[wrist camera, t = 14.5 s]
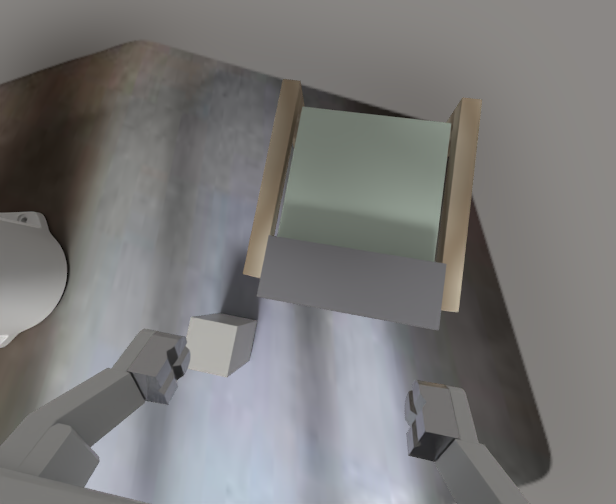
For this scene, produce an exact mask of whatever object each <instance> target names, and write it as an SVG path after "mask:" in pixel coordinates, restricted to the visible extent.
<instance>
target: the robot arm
mask: <svg viewBox="0 0 616 504" xmlns="http://www.w3.org/2000/svg"><path fill="white" fill-rule="evenodd" d="M66 279H67V263H66V258H65V255H64V252H63V250H62V248H61V246H60V244H59V243H58V242H57V240H56V239H55V238H54V237H53V236H52V235H51V233H50V232H49V229H48V225H47V222H46V219H45V217H44V215H43V214H42V213H39V212H33V211H30V212H7V213H0V348H2V347H5V346H6V345H7V344H9V343H10V342H11V341H12V340H13V339H14V338H15V337H16V336H17V335H18V334H19V333H20V332H22V331H24V330H26V329H29V328H31V327H33V326H35V325H37V324H38V323H40V322H41V321H42V320H44V319H45V318H46V317H47V316H48V315H49V314H50V313H51V312H52V311H53V309H54V308H55V307H56V305H57V304H58V302H59V300H60V298H61V296H62V294H63V291H64V288H65V284H66ZM186 344H187V340H186V337H185V336H179V335H174V334H169V333H163V332H159V331H154V330H149V329H143V330H142V331H140V332H139V333H138V334H137V336H136V337H135V338H134V340H133V341H132V342H131V343H130V345H129V346H128V347H127V349H126V350H125V351H124V353H123V354H122V355H121V357H120V358H119V359H118V361H117V362H116V363H115V365H114V366H113V367H112V369H110V368H107V369H105V370H103V371H102V372H100V373H98V374H96V375H95V376H93V377H91V378H90V379H88V380H86V381H85V382H83V383H81V384H79V385H78V386H76V387H74V388H73V389H71V390H69V391H68V392H66V393H64V394H62V395H61V396H59V397H57V398H56V399H54V400H52V401H51V402H49V403H47V404H45V405H44V406H42V407H40V408H39V409H37V410H35V411H34V412H32V413H30V414H28V415H27V417H26V418H25V419H24V420H23V421H22V422H21V423H20V424H19V426H18V427H17V428H16V429H15V430H14V431H13V432H12V434H11V435H10V436H9V437H8V438H7V439H6V440H5V441H4V443H3V444H2V445H1V446H0V504H150V503H145V502H141V501H137V500H133V499H129V498H125V497H121V496H117V495H113V494H108V493H104V492H100V491H96V490H92V489H88V488H84V486H85V485H86V483H87V482H88V480H89V478H90V477H91V475H92V473H93V472H94V470H95V468H96V467H97V465H98V463H99V462H100V461H99V456H98V455H97V454H96V453H95V452H94V451H93V450H92V449H91V448H90V447H91V446H92V445H94V444H95V443H96V442H97V441H99V440H100V439H101V438H102V437H103V436H105V435H106V434H107V433H108V432H110V431H111V430H112V429H113V428H114V427H116V426H117V425H118V424H119V423H121V422H122V421H123V420H124V419H125V418H127V417H128V416H129V415H130V414H132V413H133V412H134V411H135V410H136V409H138V408H139V407H140V406H141V405H143V404H144V403H145V401H150V402H155V403H161V404H166V405H168V404H169V403H170V401H171V399H172V397H173V395H174V393H175V391H176V390H177V388H178V384H177V380H178V379H179V378H181V377H182V376H184V375H185V373H186V371H187V369H188V366H189V363H190V357H191V353H190V350H189V349H188V348H187V347H186ZM405 420H406V422H407V423H408V425H409V426H410V428H409V430H408V432H407V433H406V436H407V446H408V456H412V457H416V458H421V459H425V460H429V461H433V462H435V465H436V467H437V469H438V471H439V472H440V474H441V476H442V478H443V479H444V481H445V483H446V485H447V487H448V488H449V490H450V492H451V494H452V496H453V497H454V499H455V501H456V503H457V504H530V503H529V502H528V500H527V499H526V498H525V497H524V495H523V494H522V493H521V492H520V490H519V489H518V488H517V486H516V485H515V484H514V483H513V481H512V480H511V479H510V478H509V476H508V475H507V474H506V472H505V471H504V470H503V469H502V467H501V466H500V465H499V463H498V462H497V461H496V460H495V458H494V457H493V456H492V455H491V453H490V452H489V451H488V449H487V448H486V447H485V446H484V445H483V444H479V442H478V439H477V435H476V431H475V427H474V423H473V419H472V416H471V412H470V408H469V404H468V400H467V397H466V393H465V391H464V390H463V389H462V388H458V387H452V386H447V385H443V384H437V383H431V382H425V381H419V380H415V381H414V382H413V384H412V391H409V392H408V394H407V396H406V400H405Z"/></svg>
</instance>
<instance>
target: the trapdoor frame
mask: <svg viewBox="0 0 616 504" xmlns="http://www.w3.org/2000/svg"><path fill="white" fill-rule="evenodd" d="M481 105H482V100H480V99H471V98H462V99H461V101H460V102H459V104H458V105H457V107H456V108H455V110H454V112H453V113H452V115H451V116H450V118H449V120H448V121H447V122H446V123H451V130H450V138H449V146H448V154H447V157H448V156H449V162H448V170H447V178H446V186H445V194H444V203H443V211H442V219H441V227H440V235H439V243H438V251H437V259H436V262H438V263H444V264H447V265H446V274H445V282H444V290H443V299H442V307H441V310H443V311H452V312H458V311H459V302H460V293H461V284H462V275H463V266H464V257H465V248H466V239H467V230H468V221H469V212H470V203H471V194H472V185H473V176H474V167H475V158H476V150H477V140H478V131H479V122H480V114H481ZM302 107H304V101H303V94H302V88H301V82H300V81H297V80H287V79H283V82H282V87H281V92H280V96H279V101H278V106H277V111H276V116H275V121H274V125H273V130H272V135H271V140H270V145H269V150H268V154H267V159H266V164H265V169H264V174H263V179H262V183H261V188H260V193H259V198H258V203H257V208H256V213H255V217H254V222H253V227H252V232H251V237H250V242H249V246H248V251H247V256H246V261H245V266H244V271H243V274H245V275H249V276H253V277H257V278H260V276H261V271H262V266H263V261H264V256H265V251H266V246H267V241H268V236H269V235H271V236H274V234H275V229H276V224H277V218H278V213H279V208H280V203H281V198H282V193H283V188H284V183H285V178H286V173H287V168H288V162H289V157H290V152H291V147H292V142H293V146H294V147H295V142H296V137H297V132H298V127H299V122H300V117H301V112H302Z"/></svg>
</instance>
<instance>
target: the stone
mask: <svg viewBox="0 0 616 504" xmlns="http://www.w3.org/2000/svg"><path fill="white" fill-rule="evenodd" d="M256 325H257V320H252V319H247V318H242V317H237V316H232V315H227V314H222V313H217V314H209V315H202V316H194V317H191V319H190V323H189V328H188V332H187V336H186V340H187V344H186V347H187V348H188V349H189V350H190V353H191V357H190V363H189V366H188V369H191V370H196V371H200V372H205V373H209V374H214V375H218V376H223V377H228V376H229V375H231V374H232V373H233V372H235V371H236V370H238V369H239V368H240V367H242V366H243V365H244V364H246V363H247V362H248V361H249V359H250V354H251V349H252V344H253V339H254V335H255V330H256Z"/></svg>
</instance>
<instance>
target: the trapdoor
mask: <svg viewBox="0 0 616 504" xmlns="http://www.w3.org/2000/svg"><path fill="white" fill-rule="evenodd" d="M450 130H451V123H444V122H435V121H426V120H417V119H408V118H400V117H391V116H382V115H373V114H364V113H355V112H346V111H337V110H329V109H320V108H311V107H302V112H301V117H300V122H299V127H298V132H297V137H296V142H295V147H294V153H293V158H292V163H291V168H290V173H289V178H288V183H287V188H286V194H285V199H284V204H283V209H282V214H281V219H280V224H279V229H278V235H277V236H271V235H269V236H268V241H267V246H266V251H265V256H264V261H263V266H262V271H261V276H260V281H259V286H258V291H257V296H256V297H261V298H266V299H272V300H277V301H283V302H288V303H293V304H299V305H304V306H310V307H315V308H320V309H326V310H331V311H337V312H342V313H347V314H353V315H358V316H364V317H369V318H374V319H380V320H385V321H391V322H396V323H401V324H407V325H412V326H418V327H423V328H428V329H434V330H439V324H440V316H441V307H442V299H443V290H444V282H445V274H446V265H447V264H444V263H438V262H434V259H435V251H436V242H437V234H438V226H439V218H440V210H441V202H442V194H443V186H444V178H445V170H446V162H447V154H448V146H449V138H450Z"/></svg>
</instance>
